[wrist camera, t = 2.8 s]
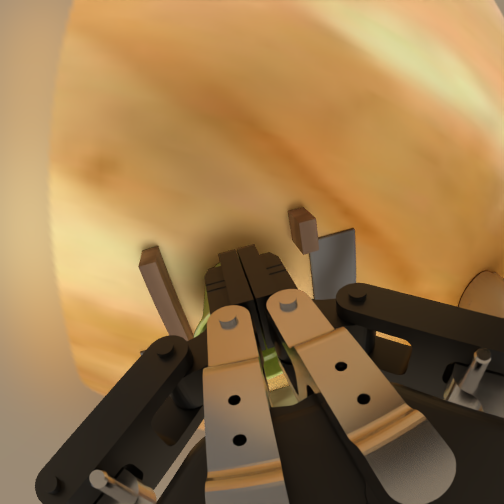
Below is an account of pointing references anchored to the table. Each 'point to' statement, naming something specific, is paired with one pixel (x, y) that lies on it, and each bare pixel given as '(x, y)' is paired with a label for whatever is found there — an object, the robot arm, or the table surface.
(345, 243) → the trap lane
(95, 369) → the table surface
